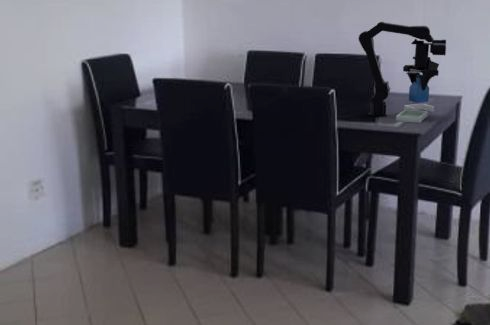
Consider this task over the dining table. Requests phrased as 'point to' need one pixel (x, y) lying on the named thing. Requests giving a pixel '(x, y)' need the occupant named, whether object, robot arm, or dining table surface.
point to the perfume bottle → (418, 91)
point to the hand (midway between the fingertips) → (419, 89)
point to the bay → (419, 107)
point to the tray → (411, 116)
